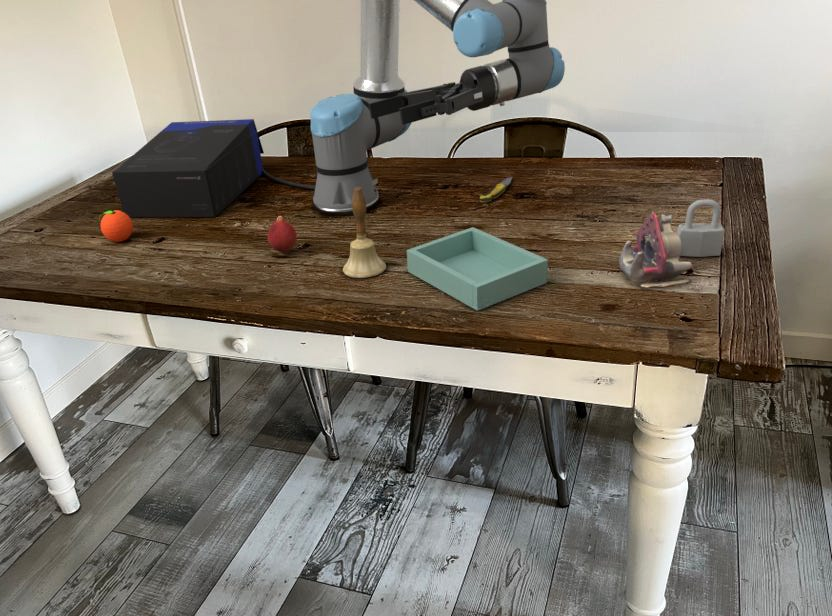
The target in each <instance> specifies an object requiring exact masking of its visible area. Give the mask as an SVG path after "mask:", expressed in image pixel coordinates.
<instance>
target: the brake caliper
mask: <svg viewBox="0 0 832 616" xmlns="http://www.w3.org/2000/svg"><path fill="white" fill-rule="evenodd" d="M672 219H673V215H672V214H669V215H665V214H663V213H662V214H661V215H660V219H659V218H658V215H657V214H656V212H654V211H653V212H651V213H650V214H649V215H648V216H647V217H646V219H645V221H644V222H643V223H642V225H641V226H640V227H639V228H638V229H637V232H636V235H635V236H636V246H635V247H632V243H633V242H632V241H631V240H628V241H626V242H625V244H624V246H623V248H622V251H621V253H620V256H619V259H618V266H619V268H620V270H621V271H622V272H623V273H624V275H626V276H627V277H628V279H629V280H630V281H631V282H633V283H642V284H640V287H642V288H645V289H651V288H652V287H653V288H655V287H657V288H664V287H665V288H666V287H671V286H675V285H683V284H686V283H689V282H690V280H689V279H678V280H667V279H674V278H677V277H678V276H679V275H681V274H683V273H685V272H688V271H689V270H691V269H692V268H693V264H692V262H691V261H680V258H681V256H680V255H681V252H682V241H681V239H680V237H679V235H678V233H677V232H676V231H674V230H673V226H672ZM646 236H647V238H648V239H647V240H646ZM647 282H648V283H647Z"/></svg>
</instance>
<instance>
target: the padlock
mask: <svg viewBox="0 0 832 616" xmlns="http://www.w3.org/2000/svg"><path fill="white" fill-rule="evenodd" d="M700 207H710V208H712V218H711V222H710V223H707V222H704V223H701V222H699V223H698V222H697V223H695V222H693V221H694V215H695V212H696V209H697V208H700ZM720 216H721V206H720V204H719V203H718V202H717V201H716V200H714V199H706V198H705V199H699V200H694V202H692V203H691V204H690V205H689V207H687V211H686V217H685V224H684V223H683V224H682V223H681V224H678V226H677V232H676V233H677V234H678V235H679V237H680V239H681V241H682V252H681V255H680V257H691V258H694V257H695V258H706V257H715V256H716V257H719V256H721V253H722V248H723V242H724V236H725V229H724V226H723V224H721V223H720Z"/></svg>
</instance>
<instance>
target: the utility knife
mask: <svg viewBox="0 0 832 616" xmlns="http://www.w3.org/2000/svg"><path fill="white" fill-rule="evenodd" d="M512 179H513V176H510V177H509V176H508V177H506V178H505V179H503V180H502V181H501V182H500V183H497V184H496V185H495V186H494V187H492V188H490V190H488V191H486V192H485V193H484V194H482V195H480V196H479V202H480V203H490V202H492V200H495V199H497V198H499V197H500V196H501V195H502V194H503V193H504V192H505V191H506V189H507V187H508V186H510V184H511V182H512Z"/></svg>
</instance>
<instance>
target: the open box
mask: <svg viewBox="0 0 832 616" xmlns="http://www.w3.org/2000/svg"><path fill="white" fill-rule="evenodd" d="M406 261H407V272H408V273H410V274H411V275H413V276H414V277H417V278H418V279H421V280H422V281H424V282H425V283H427V284H429V285H430V286H432V287H434V288H436V289H437V290H440V291H441V292H443V293H445V294H446V295H449V296H450V297H452V298H453V299H456V300H458V301H459V302H460V303H462V304H465V305H466V306H468V307H470V308H472V309H473V310H476V311H477V312H478V311H481V310H483V309H486V308H488V307H491V306H493V305H495V304H498V303H500V302H503V301H506V300H509V299H511V298H513V297H515V296H518V295H519V294H523V293H525V292H527V291H530V290H532V289H534V288H537V287H540V286H543V285H545V284H548V270H549V269H548V268H549V259H547V258H546V257H543V256H541V255H538V254H536V253H533V252H532V251H529V250H527V249H524V248H522V247H520V246H518V245H516V244H513V243H510V242H509V241H506V240H504V239H502V238H499V237H497V236H494V235H492V234H490V233H488V232H485V231H483V230H481V229H478V228H476V227H473V226H471V227H469V228H466V229H463V230H461V231H458V232H454V233H452V234H448V235H446V236H443V237H440V238H437V239H434V240H432V241H429V242H426V243H423V244H420V245H417V246H414V247H412V248H408V249H406Z"/></svg>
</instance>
